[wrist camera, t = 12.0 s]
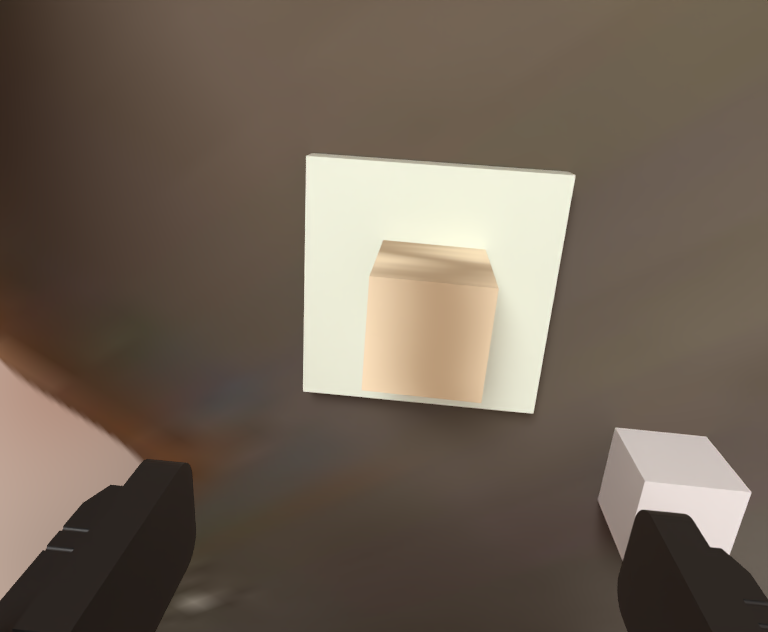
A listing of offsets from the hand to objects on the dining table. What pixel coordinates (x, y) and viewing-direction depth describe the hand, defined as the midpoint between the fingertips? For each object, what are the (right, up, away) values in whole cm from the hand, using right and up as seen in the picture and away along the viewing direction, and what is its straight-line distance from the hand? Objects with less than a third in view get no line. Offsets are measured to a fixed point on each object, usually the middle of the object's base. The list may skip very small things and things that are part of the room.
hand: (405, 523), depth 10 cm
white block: (+12, -3, +16) cm, 20 cm away
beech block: (+1, +5, +13) cm, 14 cm away
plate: (+1, +5, +14) cm, 15 cm away
